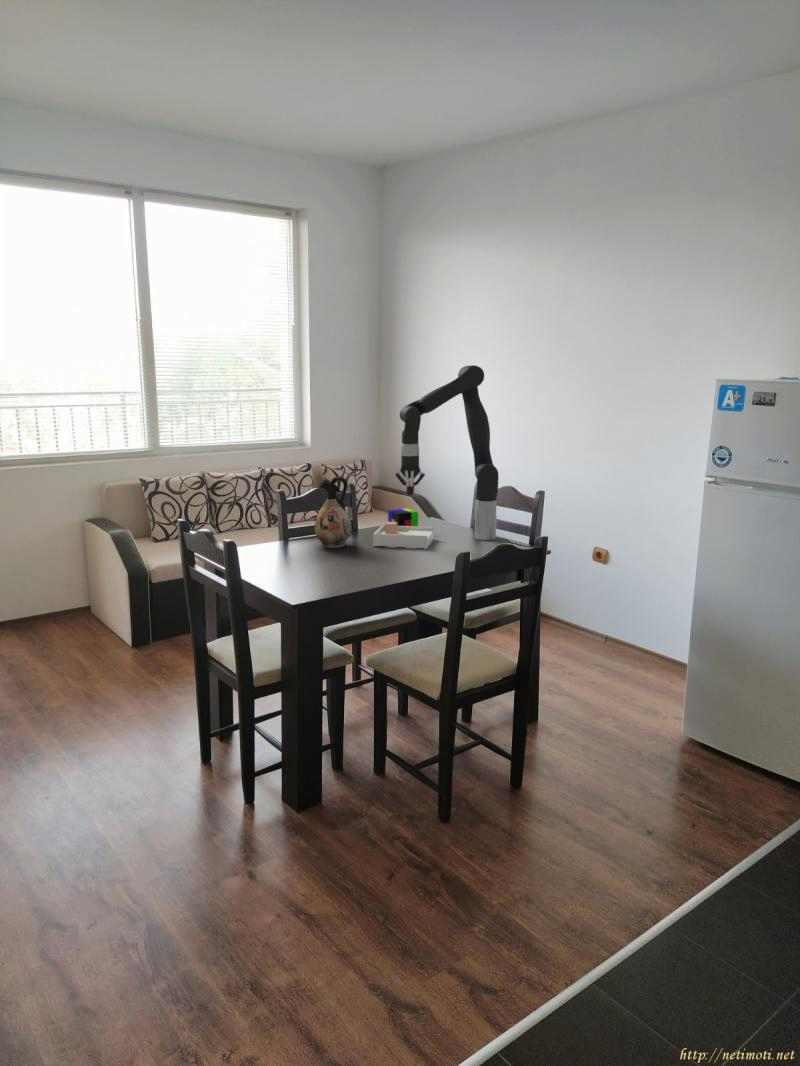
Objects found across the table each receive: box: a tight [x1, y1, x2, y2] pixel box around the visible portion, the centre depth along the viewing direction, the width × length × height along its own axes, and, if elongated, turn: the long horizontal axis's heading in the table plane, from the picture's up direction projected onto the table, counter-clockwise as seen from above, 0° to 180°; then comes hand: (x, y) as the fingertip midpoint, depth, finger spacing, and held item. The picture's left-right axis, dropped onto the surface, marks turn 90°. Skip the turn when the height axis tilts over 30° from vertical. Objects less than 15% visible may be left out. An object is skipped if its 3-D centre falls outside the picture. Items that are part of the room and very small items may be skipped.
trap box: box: [372, 524, 435, 550], centre depth 329 cm, size 23×18×6 cm
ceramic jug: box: [314, 475, 352, 549], centre depth 321 cm, size 17×15×30 cm
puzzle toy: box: [387, 508, 419, 527], centre depth 349 cm, size 10×10×10 cm
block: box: [384, 521, 397, 534], centre depth 329 cm, size 4×4×4 cm
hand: (410, 495), depth 324 cm, fingers closed
